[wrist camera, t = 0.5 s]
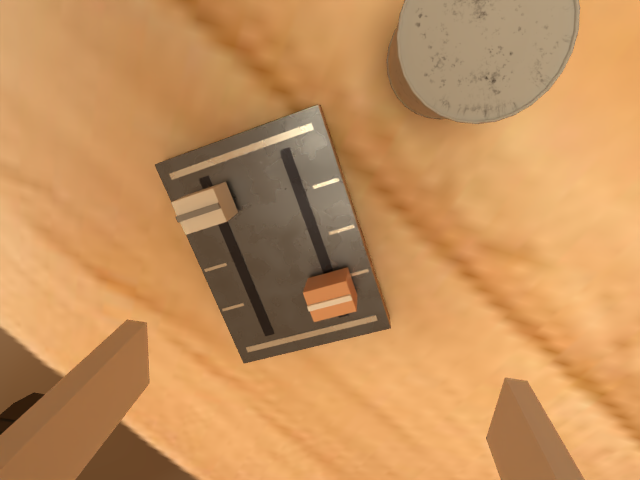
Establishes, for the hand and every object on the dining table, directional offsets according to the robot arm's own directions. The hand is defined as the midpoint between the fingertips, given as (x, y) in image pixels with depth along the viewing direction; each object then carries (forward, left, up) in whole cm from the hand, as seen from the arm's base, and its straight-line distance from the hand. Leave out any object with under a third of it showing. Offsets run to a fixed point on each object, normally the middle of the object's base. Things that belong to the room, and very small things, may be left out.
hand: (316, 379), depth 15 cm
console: (+1, -7, -25) cm, 26 cm away
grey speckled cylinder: (-10, +12, -25) cm, 30 cm away
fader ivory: (-5, -11, -23) cm, 26 cm away
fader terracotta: (+6, -3, -23) cm, 24 cm away
